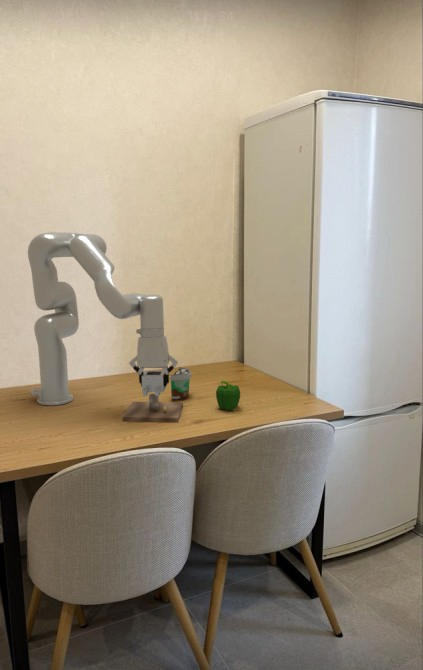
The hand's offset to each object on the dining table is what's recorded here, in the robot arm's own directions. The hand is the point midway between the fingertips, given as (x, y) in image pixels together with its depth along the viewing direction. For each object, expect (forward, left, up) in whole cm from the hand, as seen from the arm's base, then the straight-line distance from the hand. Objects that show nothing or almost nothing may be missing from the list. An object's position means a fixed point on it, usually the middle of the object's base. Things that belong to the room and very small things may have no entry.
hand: (154, 384), depth 176 cm
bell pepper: (+25, +7, -10) cm, 28 cm away
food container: (+8, +19, -10) cm, 23 cm away
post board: (0, 0, -10) cm, 10 cm away
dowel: (+4, -3, -9) cm, 10 cm away
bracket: (0, -2, -1) cm, 2 cm away
